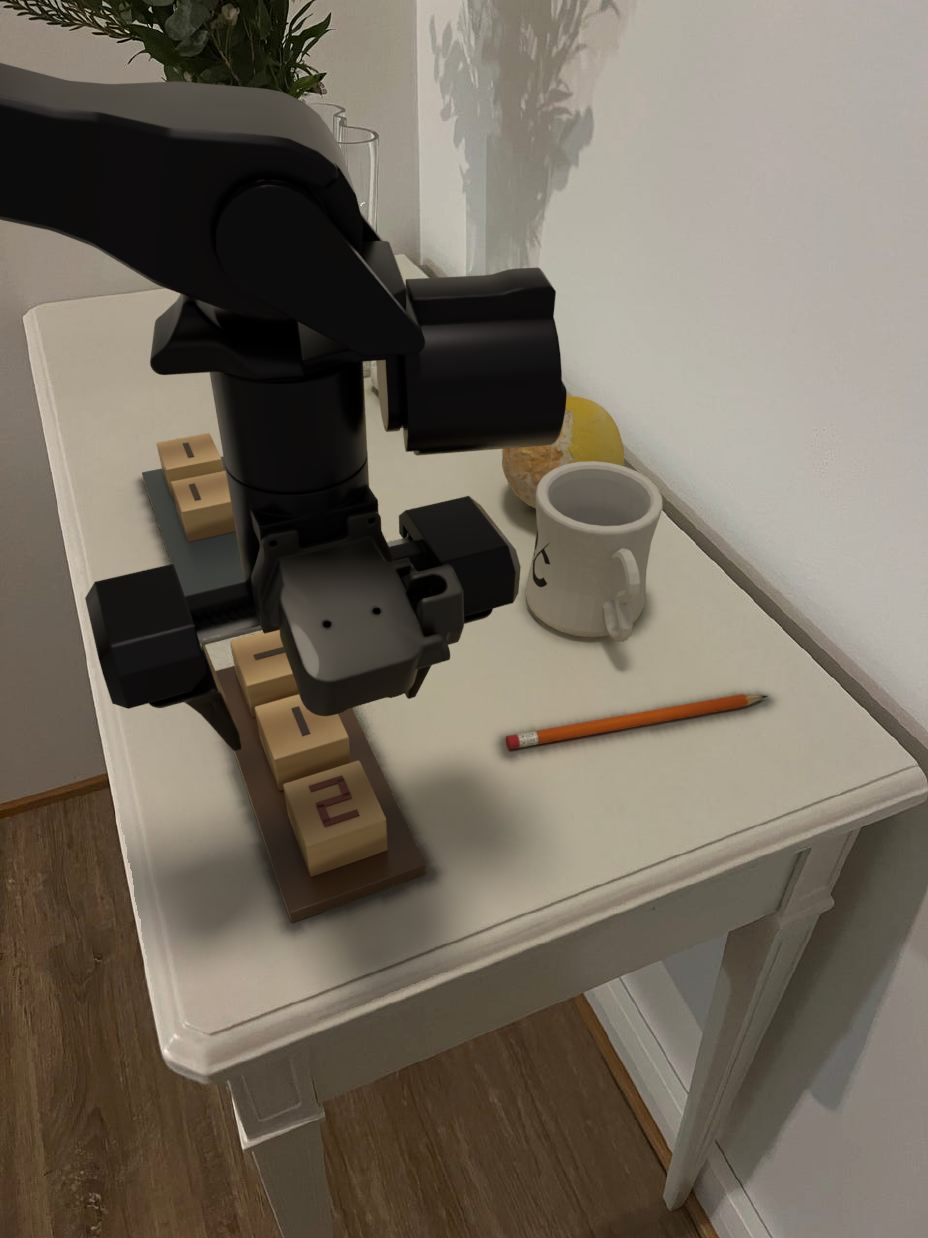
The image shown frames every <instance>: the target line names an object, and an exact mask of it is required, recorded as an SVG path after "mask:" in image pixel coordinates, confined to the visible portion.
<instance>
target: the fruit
mask: <svg viewBox="0 0 928 1238" xmlns="http://www.w3.org/2000/svg"><path fill="white" fill-rule="evenodd" d="M501 451H502V452H501V453H502V455H501V456H502V458H501V466H502V471H503V474H504V477H505V479H506V482H507V483H508V485H509V487H510V489H511V490H512V491H513V493H514V494H515V496H517V497H518V498H519V499H520V500H522V501H523V502H524V504H526V505H527V506H529V507H531V508H533V509H535V510H536V491H537V485H538V484H539V482H540V481H541V479H542V478H543V477H544V476H545V475H546V474H548V473H549V472H550V471H552V470H553V469H555V468H558V467H560V466H563V465H566V464H571V463H576V462H589V461H596V462H606V463H612V464H616V465H620V466H624V467H625V449H624V444H623V440H622V436H621V433H620V430H619V427H618V425H617V423H616V422H615V420H614V418H613V416H611V414H610V413H609V412H608V410H606V409H605V408H604V407H603V406H602V405H600V404H599V403H597V402H595V401H593V400H591V399H588V398H585V397H581V396H576V395H575V396H574V395H567V398H566V409H565V415H564V421H563V426H562V429H561V432H560V435H559V437H558V439H557V441H556V442H555V443H554V444H552V445H544V446H531V447H519V448H506V449H501Z"/></svg>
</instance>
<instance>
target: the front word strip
mask: <svg viewBox="0 0 928 1238" xmlns="http://www.w3.org/2000/svg"><path fill="white" fill-rule="evenodd" d="M229 645H230V650H231V655H232V661H233V666H228V667H224V668H221V669H217V670H215V671H216V674H217V676H218V679H219V681H220V684H221V686H222V689H223V691H224V694H225V696H226V699H227V701H228V703H229V706H230V709H231V712H232V714H233V717H234V720H235V723H236V726H237V729H238V732H239V735H240V741H241V747H242V748H241V749H240V750H237V751H233V753H234V756H235V760H236V762H237V765H238V768H239V772H240V774H241V777H242V780H243V783H244V786H245V789H246V792H247V795H248V797H249V801H250V804H251V807H252V810H253V814H254V816H255V819H256V822H257V825H258V828H259V831H260V834H261V837H262V841H263V842H264V845H265V850H266V852H267V855H268V858H269V861H270V864H271V868H272V870H273V874H274V875H275V879H276V882H277V885H278V887H279V891H280V894H281V897H282V900H283V903H284V906H285V909H286V912H287V915H288V918H289V921H290V922H291V923H295V922H297V921H298V922H299V921H301V920H303V919H307V918H309V917H312V916H314V915H318V914H320V913H323V912H325V911H328V910H331V909H334V908H336V907H339V906H342V905H345V904H347V903H351V902H353V901H357V900H359V899H361V898H364V897H367V896H369V895H372V894H375V893H377V892H380V891H383V890H386V889H388V888H391V887H395V886H397V885H399V884H402V883H405V882H407V881H410V880H414V879H416V878H419V877H421V876H424V875H426V874H427V862H426V861H425V859H424V856H423V855H422V852H421V851H420V850H421V849H420V848H419V846H418V843H417V841H416V840H415V838H414V835H413V833H412V831H411V829H410V827H409V825H408V823H407V821H406V818H405V816H404V814H403V812H402V811H401V808H400V806H399V804H398V801H397V800H396V798H395V795H394V793H393V791H392V790H391V786H390V784H389V783H388V781H387V779H386V777H385V774H384V773H383V772H384V771H382V768H381V766H380V763H379V761H378V760H377V758H376V755H375V753H374V752H373V749H372V747H371V745H370V742H369V741H368V739H367V736H366V735H365V732H364V730H363V728H362V726H361V724H360V722H359V720H358V718H357V716H356V714H355V713H356V712H354V709H353V708H349V709H347V710H345V711H344V712H342V713H339V714H336V715H331V716H319V715H316V714H313V713H311V712H310V711H309V710H308V709H307V708H306V707H305V706H304V705H303V703H302V701H301V698H300V695H299V692H298V688H297V684H296V681H295V679H294V676H293V673H292V670H291V667H290V664H289V661H288V659H287V656H286V653H285V650H284V647H283V644H282V641H281V638H280V630H277V631H273V632H270V633H266V634H264V633H263V631H261V632H256V633H254V634H250V635H246V636H241V637H237V638H234V639H231V640H230V641H229ZM355 761H360V763H361V765H362V767H363V770H364V772H365V774H366V776H367V778H368V780H369V783H370V785H371V787H372V789H373V791H374V794H375V796H376V798H377V800H378V802H379V804H380V807H381V809H382V811H383V813H384V815H385V818H386V828H387V848H388V849H387V851H384V852H381V853H378V854H376V855H373V856H370V857H367V858H364V859H361V860H358V861H356V862H353V863H350V864H347V865H344V866H341V867H338V868H336V869H333V870H330V871H327V872H324V873H321V874H318V875H316V876H313V877H311V876H310V874H309V871H308V869H307V866H306V863H305V860H304V858H303V855H302V852H301V850H300V847H299V844H298V841H297V839H296V836H295V833H294V830H293V828H292V825H291V822H290V819H289V817H288V812H287V805H286V799H285V793H284V787H283V785H284V784H285V783H288V782H291V781H295V780H298V779H301V778H304V777H307V776H311V775H314V774H317V773H320V772H323V771H326V770H330V769H333V768H336V767H339V766H342V765H346V764H349V763H352V762H355Z"/></svg>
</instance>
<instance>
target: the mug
mask: <svg viewBox="0 0 928 1238" xmlns="http://www.w3.org/2000/svg"><path fill="white" fill-rule="evenodd" d="M662 511H663V496H662V494H661V492H660V490H659V488H658V486H656V485H655V483H653V482H652V481H651V480H650V479H649V477H647V476H645V475H643V474H642V473H640V472H639V471H636V470H634V469H632V468H629V467H627V466H625V465H624V466H620V465H616V464H612V463H606V462H596V461H589V462H576V463H571V464H566V465H563V466H560V467H558V468H555V469H553V470H552V471H550V472H549V473H548V474H546V475H545V476H544V477H543V478H542V479H541V481H540V482H539V484H538V485H537V491H536V509H535V515H536V517H535V518H536V533H535V542H534V549H533V553H532V554H533V555H532V558H531V562H530V566H529V570H528V575H527V578H526V579H527V580H526V586H525V596H526V601H527V605H528V606H529V608H530V609H531V611H532V612H533V614H534V615H535V616H537V617H538V618H539V619H540V620H541V621H543V623H545V624H546V625H547V626H549V627H551V628H552V629H555V630H556V631H559V632H560V633H564V634H567V635H571V636H575V637H583V638H584V637H585V638H597V637H598V638H599V637H606V636H609V637H610V638H611V639H612V640H614V641H615V642H618V643H624V642H627V640H629V639H630V638H631V636H632V634H633V626H634V625H633V624H634V623H635V622H636V621H637V620H638V619H639V618H640V616H641V613H642V611H643V608H644V607H645V603H646V602H645V601H646V590H647V589H646V588H647V571H648V570H647V569H648V564H649V557H650V551H651V546H652V541H653V538H654V535H655V532H656V529H657V526H658V523H659V520H660V518H661V514H662Z"/></svg>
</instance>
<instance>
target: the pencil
mask: <svg viewBox="0 0 928 1238" xmlns="http://www.w3.org/2000/svg"><path fill="white" fill-rule="evenodd" d="M767 697H768V695H762V694H747V693H746V694H743V693H742V694H734V695H729V696H724V697H719V698H714V699H713V698H712V699H708V700H700V701H696V702H691V703H685V704H680V705H674V706H667V707H663V708H656V709H650V710H646V711H640V712H635V713H628V714H623V715H618V716H617V715H616V716H612V717H606V718H601V719H595V720H589V721H583V722H578V723H573V724H568V725H562V726H556V727H550V728H544V729H538V730H533V731H528V732H522V733H517V734H511V735H506V736H505V744H506V748H507V749H508V750H515V749H519V748H524V747H530V746H536V745H541V744H546V743H553V742H558V741H564V740H569V739H573V738H580V737H585V736H586V737H587V736H592V735H597V734H601V733H607V732H613V731H619V730H623V729H624V730H625V729H628V728H629V729H630V728H634V727H635V728H636V727H641V726H646V725H650V724H651V725H652V724H657V723H662V722H663V723H664V722H668V721H673V720H678V719H684V718H689V717H695V716H696V717H697V716H701V715H707V714H712V713H718V712H723V711H729V710H734V709H740V708H745V707H748V706H750V705H752V704H754V703H756V702H759V701H760V700H761V701H762V700H763V699H766V698H767Z"/></svg>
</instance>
